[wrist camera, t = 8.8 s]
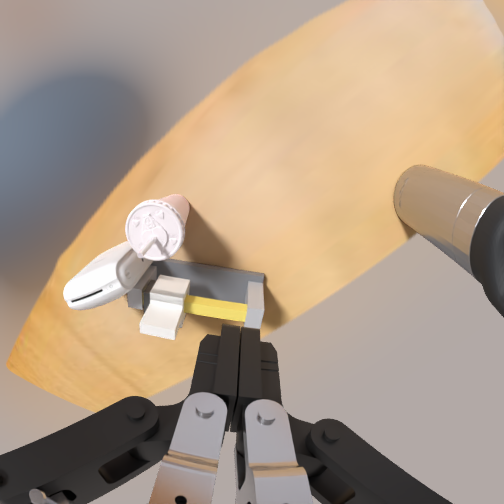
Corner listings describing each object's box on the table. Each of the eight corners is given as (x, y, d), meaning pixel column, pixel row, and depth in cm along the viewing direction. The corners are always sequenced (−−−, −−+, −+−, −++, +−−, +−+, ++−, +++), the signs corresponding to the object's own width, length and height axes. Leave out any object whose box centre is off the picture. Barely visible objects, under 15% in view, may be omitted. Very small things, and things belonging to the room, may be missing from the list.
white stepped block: (190, 279, 36) (175, 319, 28) (188, 307, 38) (174, 349, 30) (160, 274, 36) (138, 312, 28) (159, 302, 38) (141, 342, 30)
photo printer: (148, 229, 38) (108, 267, 26) (162, 256, 39) (129, 302, 28) (95, 253, 39) (51, 292, 28) (108, 277, 41) (69, 322, 29)
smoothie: (162, 235, 38) (123, 287, 26) (146, 192, 36) (96, 226, 23) (206, 223, 38) (182, 274, 25) (191, 177, 35) (157, 205, 22)
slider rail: (263, 273, 41) (266, 306, 33) (257, 302, 43) (258, 338, 35) (145, 254, 39) (124, 282, 32) (145, 284, 41) (127, 315, 34)
